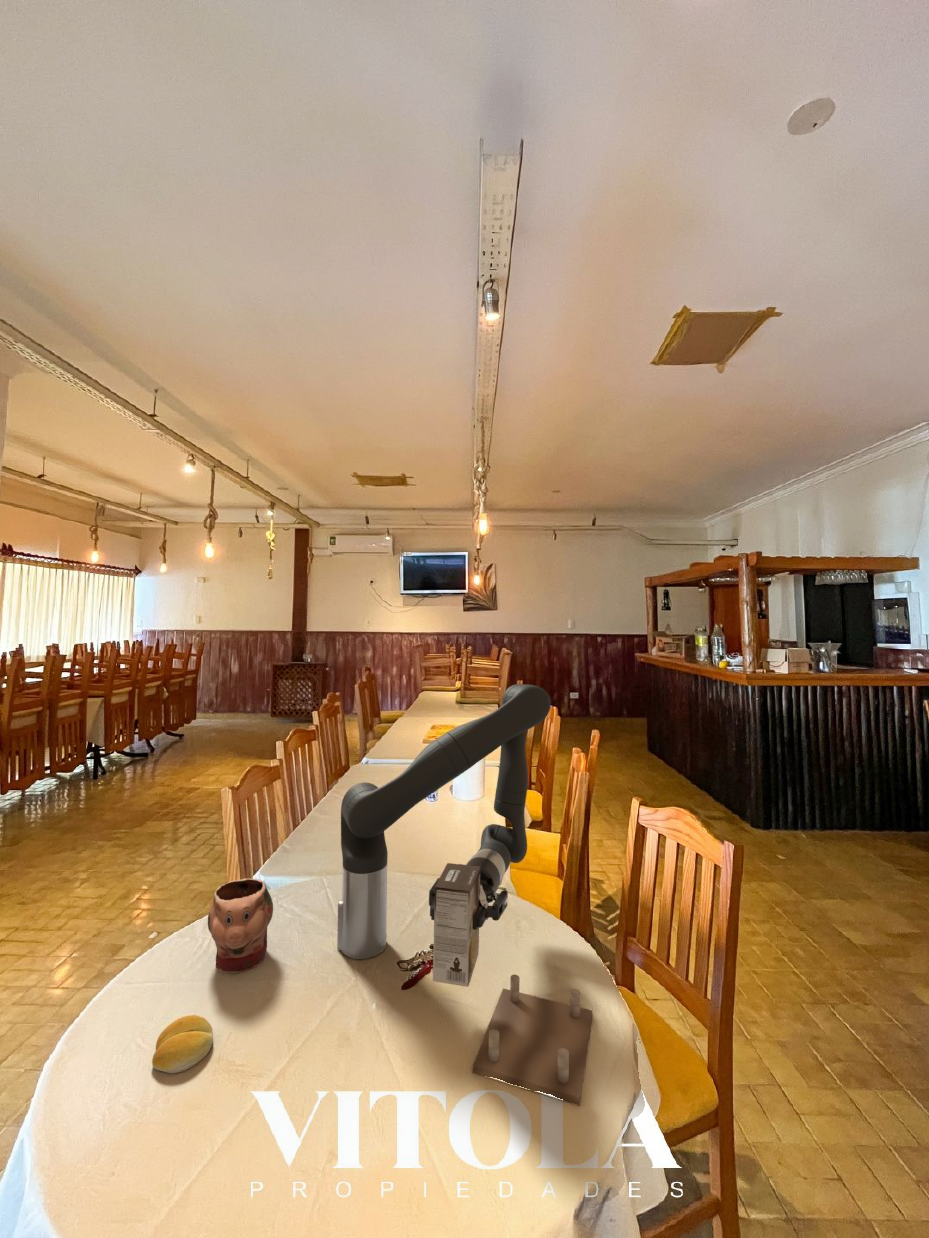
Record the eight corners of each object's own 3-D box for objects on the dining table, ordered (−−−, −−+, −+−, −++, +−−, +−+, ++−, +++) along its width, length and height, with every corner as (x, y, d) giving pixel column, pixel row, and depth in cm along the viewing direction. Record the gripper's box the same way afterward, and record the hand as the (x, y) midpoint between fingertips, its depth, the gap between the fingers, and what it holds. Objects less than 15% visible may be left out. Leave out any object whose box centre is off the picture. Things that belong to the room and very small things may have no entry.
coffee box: (444, 948, 98) (447, 860, 98) (479, 954, 97) (481, 865, 97) (431, 982, 89) (434, 885, 89) (469, 988, 88) (472, 890, 88)
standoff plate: (472, 1072, 82) (473, 1038, 82) (503, 994, 99) (503, 966, 99) (579, 1105, 77) (580, 1069, 77) (592, 1017, 94) (592, 987, 94)
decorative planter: (208, 933, 116) (209, 869, 116) (269, 921, 121) (269, 859, 121) (205, 994, 98) (206, 917, 98) (276, 977, 103) (277, 904, 103)
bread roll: (148, 1083, 80) (148, 1056, 80) (159, 1038, 88) (159, 1013, 88) (210, 1067, 82) (210, 1041, 82) (215, 1025, 91) (215, 1001, 91)
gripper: (448, 850, 109) (415, 889, 93) (518, 863, 104) (495, 906, 89) (447, 887, 109) (413, 932, 93) (517, 901, 104) (494, 951, 89)
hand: (453, 919), depth 91 cm, fingers closed on coffee box, 7 cm apart
